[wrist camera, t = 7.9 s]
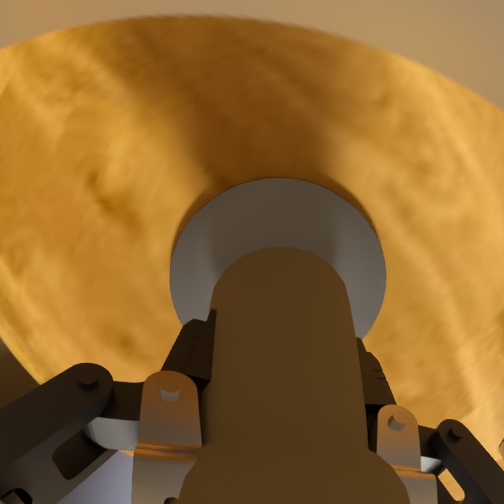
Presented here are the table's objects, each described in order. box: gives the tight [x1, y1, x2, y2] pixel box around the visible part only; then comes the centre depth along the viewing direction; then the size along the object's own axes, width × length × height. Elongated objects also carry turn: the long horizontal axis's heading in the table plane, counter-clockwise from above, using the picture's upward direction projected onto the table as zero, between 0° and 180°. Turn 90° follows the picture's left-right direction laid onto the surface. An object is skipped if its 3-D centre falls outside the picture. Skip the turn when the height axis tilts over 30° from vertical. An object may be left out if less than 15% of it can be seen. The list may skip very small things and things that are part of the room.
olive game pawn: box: [166, 247, 411, 504], centre depth 7 cm, size 6×6×11 cm
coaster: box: [170, 178, 386, 340], centre depth 15 cm, size 11×11×1 cm
